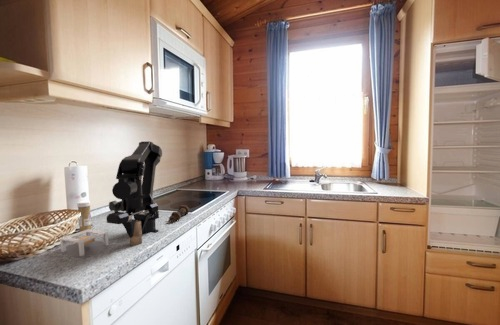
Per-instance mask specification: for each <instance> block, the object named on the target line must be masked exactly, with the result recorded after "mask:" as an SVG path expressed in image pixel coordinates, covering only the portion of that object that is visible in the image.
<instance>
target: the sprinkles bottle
mask: <svg viewBox="0 0 500 325" xmlns="http://www.w3.org/2000/svg"><path fill="white" fill-rule="evenodd" d="M76 204H77V205H76V206H77V210H78V211H80V212H81V216H80V219H79V218H78V227H79V232H81V231H84V230H87V229H91V230H92V215H91V201H90V200H80V201H77V203H76Z"/></svg>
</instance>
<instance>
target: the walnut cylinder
mask: <svg viewBox="0 0 500 325" xmlns="http://www.w3.org/2000/svg"><path fill="white" fill-rule="evenodd" d="M142 243H143V234H142V229H141V221H140V220H135V225H134V233H133V237H132V238H130V237H129V244H130V246H132V247H135V246H139V245H142Z"/></svg>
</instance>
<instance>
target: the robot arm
mask: <svg viewBox="0 0 500 325" xmlns="http://www.w3.org/2000/svg"><path fill="white" fill-rule="evenodd" d="M162 156H163V150H162V148H161V147H160V146H159V145H158V144H154V142H152V141H149V140H148V141H140V142H138V146H137V147H136V149H134V151H133V152H132V154H131V155H128V156H125V157H124V158H122V159H121V161H120V162H119V165H118V169H117V173H116V177H115V179H116V180H118V181H117V182H116V183H115V184H114V185H113V186H112V195H113V196H114V197H115V198H116V199H118V200H121V201H117V200H112V201H109V202H108V208H109V210H110V211H111V213H108V214H107V216H106V223H107V224H115V225H121V224H122V225H123V228H124V229H125V231H126V233H127V235H128V238H129V239H130V238H132V237H133V233H134V225H135V220H140V221H141V229H142V235H146V234H150V233H152V234H156V233H158V232H159V229H156V220H157V219H160V216H159V215H160V213H159V212H160V211H159V205H158V204H157V202H156V201H155V199H154V197H153V193H154V186H155V185H154V184H155V176H156V167H157V165H159V163H160V162H161V159H162ZM112 211H114V212H112Z"/></svg>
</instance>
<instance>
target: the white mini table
mask: <svg viewBox="0 0 500 325" xmlns="http://www.w3.org/2000/svg"><path fill="white" fill-rule="evenodd" d="M83 234H85V236H90V237H87V238H85V239H79V238H76V237H78V236H81V235H83ZM92 234H93V235H92ZM102 236H103V241H100V240H95V241H93V242H91V243H88V244H86V245H84V242H86V241H89V240H91V239H96V238H99V237H102ZM59 242H60V248H58V249H57V250H56V249H55V250H53V251H52V253H55V254H61V255H64V256H70V257H74V258H78V259H79V258H80V259H84V260H86V259H88V258H91V257H92V256H95V255H97V254H98V253H101V252H103V251H105V250H108V249H110V248H112V247H114V246H117V245H118V243H117V244H116V243H111V242H109V232H108V231H103V230H98V229H92V228H91V229H87V230H84V231H81V232H80V231H78V232H76V233H73V234H70V235H67V236H64V237H61V238H60V239H59ZM67 242H71V243H72V244H70V245H67V246H66V243H67ZM76 243H79V244H76Z"/></svg>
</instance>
